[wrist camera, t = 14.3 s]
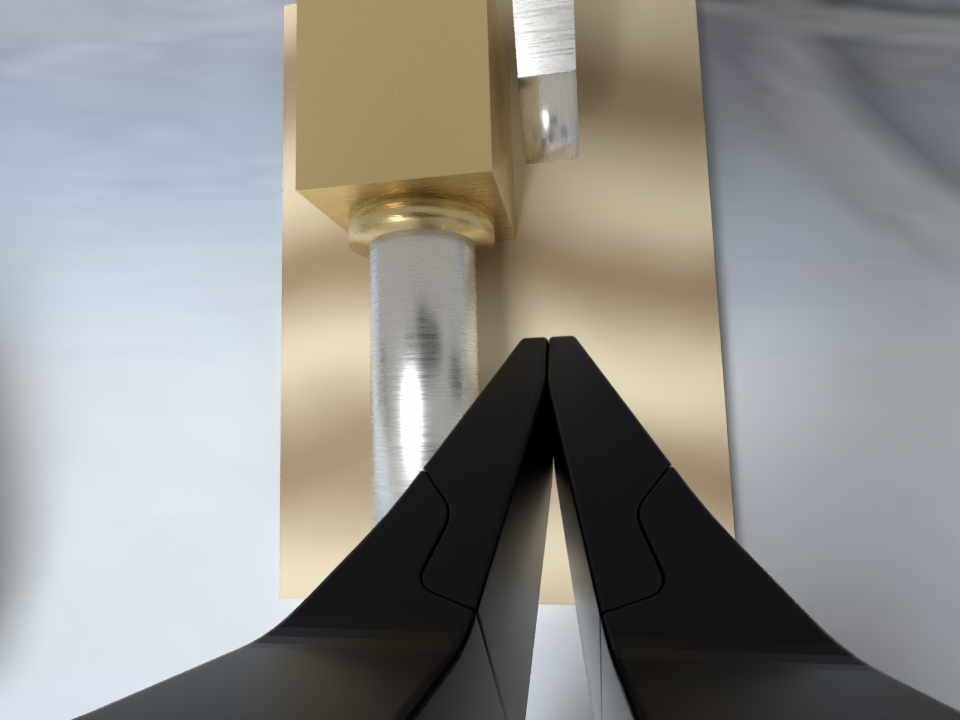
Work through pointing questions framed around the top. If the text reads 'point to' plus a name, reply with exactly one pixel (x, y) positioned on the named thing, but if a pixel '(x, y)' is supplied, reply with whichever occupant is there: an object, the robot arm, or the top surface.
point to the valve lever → (547, 79)
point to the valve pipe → (409, 196)
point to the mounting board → (530, 286)
